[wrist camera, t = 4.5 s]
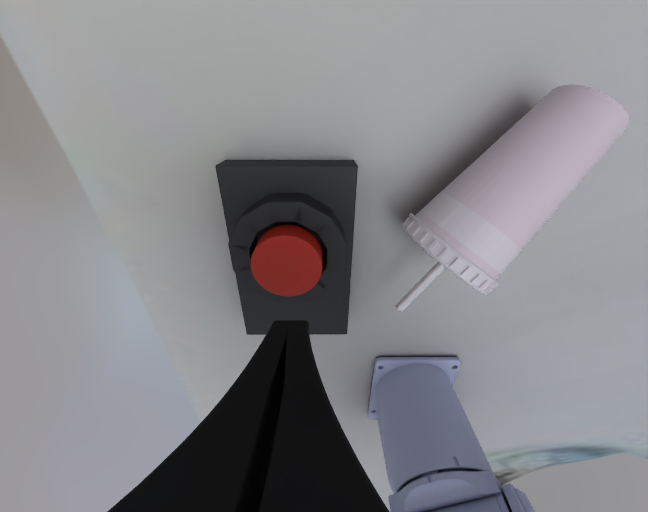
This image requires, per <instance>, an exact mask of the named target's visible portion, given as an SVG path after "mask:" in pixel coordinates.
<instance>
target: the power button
mask: <svg viewBox="0 0 648 512" xmlns="http://www.w3.org/2000/svg"><path fill="white" fill-rule="evenodd" d="M251 271H252V274H253V276H254V278H255V280H256V281H257V282H258V283H259V284H260V285H261V286H262V287H263V288H264V289H266V290H267V291H269V292H271V293H273V294H276V295H280V296H297V295H300V294H303V293H306V292H307V291H309V290H310V289H312V288H313V287H314V286H315V285H316V284H317V282H318V281H319V279H320V277H321V273H322V250H321V246H320V244H319V242H318V240H317V239H316V238H315V236H314V235H313V234H311V233H310V232H309V231H307V230H306V229H304V228H302V227H299V226H295V225H280V226H276V227H273V228H271V229H269V230H268V231H266V232H265V233H264V234H263V235H262V236H261V238H260V239H259V241H258V243H257V245H256V247H255V250H254V252H253V254H252V257H251Z"/></svg>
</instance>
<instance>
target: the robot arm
mask: <svg viewBox="0 0 648 512" xmlns="http://www.w3.org/2000/svg"><path fill="white" fill-rule="evenodd" d="M460 365H461V361H460V359H459V358H458V357H379V358H377V359H376V360H375V365H374V372H373V379H372V386H371V393H370V400H369V407H368V418H369V419H378V425H379V431H380V436H381V442H382V447H383V453H384V459H385V464H386V470H387V475H388V480H389V483H390V486H391V489H392V491H393V493H394V494H393V495H390V496H389V497H388V498H389V504H390V510H391V512H535V511H534V509H533V508H532V506H531V504H530V502H529V500H528V499H527V497H526V495H525V494H524V493H523V492H522V491H520V490H518V489H516V488H514V486H513V485H512V484H510V483H508V484H505V485H503V486H501V484H500V483H499V481H498V480H497V478H496V477H495V475H494V473H493V471H492V469H491V467H490V465H489V463H488V461H487V459H486V456H485V454H484V452H483V450H482V448H481V446H480V444H479V441H478V439H477V437H476V435H475V433H474V431H473V429H472V427H471V424H470V422H469V420H468V418H467V416H466V414H465V412H464V410H463V407H462V405H461V403H460V401H459V399H458V397H457V395H456V392H455V390H454V388H453V384H454V381H455V378H456V376H457V373H458V370H459V368H460ZM108 512H389V510H388V509H387V507H386V506H385V504H384V503H383V501H382V499H381V498H380V496H379V494H378V493H377V491H376V489H375V488H374V486H373V485H372V483H371V481H370V479H369V478H368V476H367V474H366V472H365V471H364V469H363V467H362V466H361V464H360V462H359V460H358V458H357V456H356V455H355V453H354V451H353V449H352V447H351V445H350V443H349V441H348V439H347V437H346V436H345V434H344V432H343V430H342V428H341V425H340V423H339V421H338V419H337V417H336V415H335V413H334V410H333V408H332V406H331V404H330V401H329V399H328V396H327V394H326V391H325V389H324V386H323V383H322V381H321V378H320V375H319V372H318V369H317V366H316V362H315V359H314V355H313V351H312V347H311V342H310V337H309V322H307V321H306V320H275V321H274V322H273V323H272V325H271V327H270V329H269V331H268V332H267V334H266V336H265V338H264V339H263V341H262V343H261V344H260V346H259V348H258V349H257V351H256V352H255V354H254V355H253V357H252V358H251V360H250V361H249V363H248V365H247V366H246V367H245V369H244V370H243V372H242V373H241V374H240V376H239V377H238V378H237V380H236V381H235V382H234V384H233V385H232V387H231V388H230V389H229V390H228V392H227V393H226V394H225V395H224V397H223V398H222V399H221V400H220V402H219V403H218V404H217V405H216V406H215V407H214V409H213V410H212V411H211V412H210V413H209V414H208V416H207V417H206V418H205V419H204V420H203V421H202V422H201V423H200V424H199V425H198V426H197V428H196V429H195V430H194V431H193V432H192V433H191V434H190V435H189V436H188V437H187V438H186V439H185V441H183V442H182V444H180V445H179V446H178V447H177V448H176V449H175V450H174V451H173V452H172V453H171V454H170V455H169V456H168V457H167V458H166V459H165V460H164V461H163V462H162V463H161V464H160V465H159V466H158V467H157V468H156V469H155V470H154V471H153V472H152V473H151V474H149V475H148V476H147V477H146V478H145V479H144V480H143V481H142V482H141V483H140V484H139V485H138V486H137V487H135V488H134V489H133V490H132V491H131V492H130V493H128V494H127V495H126V496H125V497H124V498H123V499H122V500H120V501H119V502H118V503H117V504H116V505H115V506H113V507H112V508H111V509H110V510H109V511H108Z"/></svg>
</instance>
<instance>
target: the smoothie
mask: <svg viewBox="0 0 648 512" xmlns="http://www.w3.org/2000/svg"><path fill="white" fill-rule="evenodd" d="M628 125H629V116H628V114H627V112H626V110H625V109H624V108H623V106H622V105H621V104H620V103H619V102H617V101H616V100H615V99H613V98H612V97H610V96H609V95H607V94H605V93H603V92H601V91H599V90H596V89H593V88H590V87H586V86H580V85H563V86H559V87H557V88H555V89H553V90H552V91H551V92H550V93H549V94H547V95H546V96H545V97H544V98H543V99H542V100H541V101H540V102H539V103H538V104H537V105H535V106H534V107H533V108H532V109H531V110H530V111H529V112H528V113H527V114H526V115H524V116H523V117H522V118H521V119H520V120H519V121H518V122H517V123H516V124H515V125H514V126H512V127H511V128H510V129H509V130H508V131H507V132H506V133H505V134H504V135H503V136H501V137H500V138H499V139H498V140H497V141H496V142H495V143H494V144H493V145H492V146H491V147H489V148H488V149H487V150H486V151H485V152H484V153H483V154H482V155H481V156H480V157H478V158H477V159H476V160H475V161H474V162H473V163H472V164H471V165H470V166H469V167H468V168H466V169H465V170H464V171H463V172H462V173H461V174H460V175H459V176H458V177H457V178H455V179H454V180H453V181H452V182H451V183H450V184H449V185H448V186H447V187H446V188H445V189H443V190H442V191H441V192H440V193H439V194H438V195H437V196H436V197H434V198H433V199H432V200H431V201H430V202H429V203H428V204H427V205H426V206H425V207H424V208H423V209H422V210H421V211H419V212H418V213H417V214H416V215H413V214H412V213H409V217H408V218H407V219H406V220H405V221H404V222H403V224H402V228H403V229H404V231H405V232H406V233H407V234H408V235H409V236H410V237H411V238H412V239H413V240H414V241H415V242H416V243H417V244H419V246H420V247H421V248H423V250H424V251H425V252H426V253H428V254H429V255H431V256H432V257H433V258H435V259H436V260H437V261H438V263H437V264H436V265H435V266H434V267H433V268H432V269H431V270H430V271H429V272H428V273H427V274H426V275H425V276H424V277H423V278H422V279H421V280H420V281H419V282H418V283H417V284H416V285H415V286H414V287H413V288H412V289H411V290H410V291H409V292H408V293H407V294H406V295H405V296H404V297H403V299H402V300H401V301H400V302H399V303H398V304H397V305H396V308H397V309H398V310H399V311H401V312H402V311H403V310H404V309H405V308H406V307H407V306H408V305H409V304H410V303H411V302H412V301H413V300H414V299H415V298H416V297H417V296H418V295H419V294H420V293H421V292H422V291H423V290H424V289H425V288H426V287H427V286H428V285H429V284H430V283H431V282H432V281H433V280H434V279H435V278H436V277H437V276H438V275H439V274H440V273H441V272H442V271H443V270H444V269H445V268H447V269H448V270H449V271H451V272H452V273H453V274H454V275H456V276H457V277H458V278H460V279H461V280H462V281H464V282H465V283H466V284H468V285H469V286H470V287H472V288H473V289H475V290H476V291H478V292H480V293H482V294H484V295H488V294H489V293H490V292H491V291H492V290H493V289H494V288H495V287H496V286H498V285H500V283H499V282H498V281H497V279H498V277H499V276H500V275H501V274H502V273H503V271H504V270H505V269H506V268H507V267H508V266H509V265H510V264H511V262H512V261H513V260H514V259H515V258H516V257H517V256H518V255H519V253H520V252H521V251H522V250H523V248H524V247H525V246H526V245H527V244H528V243H529V241H530V240H531V239H532V238H533V237H534V236H535V234H536V233H537V232H538V231H539V230H540V229H541V227H542V226H543V225H544V224H545V223H546V222H547V220H548V219H549V218H550V217H551V216H552V215H553V213H554V212H555V211H556V210H557V209H558V208H559V206H560V205H561V204H562V203H563V202H564V201H565V199H566V198H567V197H568V196H569V195H570V194H571V192H572V191H573V190H574V189H575V188H576V187H577V185H578V184H579V183H580V182H581V181H582V180H583V178H584V177H585V176H586V175H587V174H588V173H589V171H590V170H591V169H592V168H593V167H594V166H595V164H596V163H597V162H598V161H599V160H600V159H601V157H602V156H603V155H604V154H605V153H606V152H607V150H608V149H609V148H610V147H611V146H612V145H613V143H614V142H615V141H616V140H617V139H618V138H619V136H620V135H621V134H622V133H623V132H624V131H625V129H626V128H627V127H628Z"/></svg>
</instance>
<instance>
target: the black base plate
mask: <svg viewBox="0 0 648 512" xmlns="http://www.w3.org/2000/svg"><path fill="white" fill-rule="evenodd" d="M357 168H358V166H357V164H356V163H355V161H354V160H225V161H223V162H221V163H219V164H217V165H216V171H217V177H218V182H219V187H220V193H221V198H222V203H223V209H224V214H225V219H226V225H227V230H228V236H229V250H230V255H231V260H232V265H233V270H234V272H235V273H236V278H237V284H238V289H239V295H240V300H241V305H242V311H243V316H244V321H245V327H246V332H247V334H248V335H257V334H267V332H268V331H269V329H270V327H271V325H272V323H273V322H274V321H275V320H306V321H307V322H309V334H347V327H348V311H349V295H350V279H351V263H352V248H353V232H354V216H355V200H356V184H357ZM280 225H295V226H299V227H302V228H304V229H306V230H307V231H309V232H310V233H311V234H313V235H314V236H315V238H316V239H317V240H318V242H319V244H320V246H321V250H322V273H321V277H320V279H319V281H318V282H317V284H316V285H315V286H314V287H313V288H312V289H310V290H309V291H307V292H306V293H303V294H300V295H297V296H280V295H276V294H273V293H271V292H269V291H267V290H266V289H264V288H263V287H262V286H261V285H260V284H259V283H258V282H257V281H256V280H255V278H254V276H253V274H252V271H251V257H252V254H253V252H254V250H255V247H256V245H257V243H258V241H259V239H260V238H261V236H262V235H263V234H264V233H265V232H266V231H268V230H269V229H271V228H273V227H276V226H280Z"/></svg>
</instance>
